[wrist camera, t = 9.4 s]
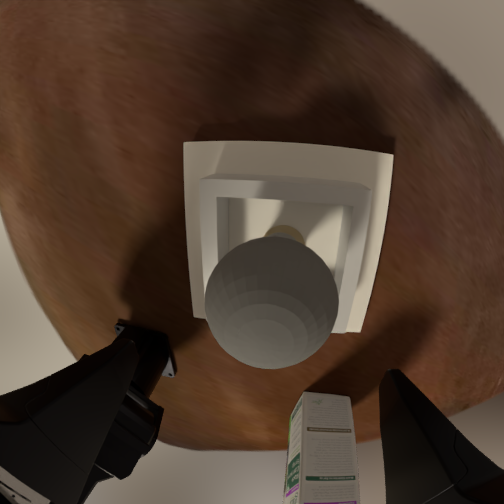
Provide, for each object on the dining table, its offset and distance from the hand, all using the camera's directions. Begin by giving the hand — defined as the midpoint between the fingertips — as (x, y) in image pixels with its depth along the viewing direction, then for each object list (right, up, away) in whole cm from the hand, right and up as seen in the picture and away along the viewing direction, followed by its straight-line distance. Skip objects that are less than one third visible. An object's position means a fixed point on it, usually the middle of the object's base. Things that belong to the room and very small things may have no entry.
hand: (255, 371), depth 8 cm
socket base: (+2, +5, +12) cm, 13 cm away
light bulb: (+2, +4, +10) cm, 11 cm away
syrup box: (+8, -14, +19) cm, 25 cm away
